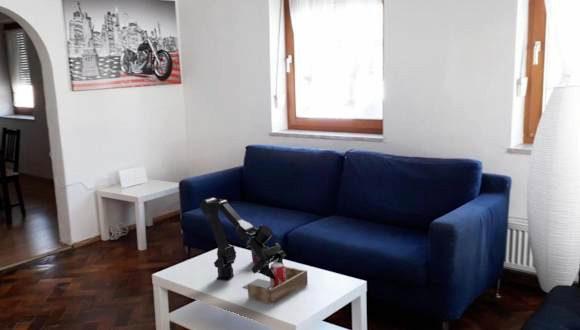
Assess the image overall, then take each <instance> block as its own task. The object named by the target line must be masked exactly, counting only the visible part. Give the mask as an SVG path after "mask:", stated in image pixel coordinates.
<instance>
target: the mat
mask: <svg viewBox="0 0 580 330" xmlns="http://www.w3.org/2000/svg"><path fill="white" fill-rule="evenodd" d="M248 284H252V285H256V286H260V287H264V288H268V289H271V285H270V280H265V279H261V278H256V279H255V280H253V281H250V282H249V283H247V284H245V285H243V286H242V288H244V289H247V290H248Z"/></svg>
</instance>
